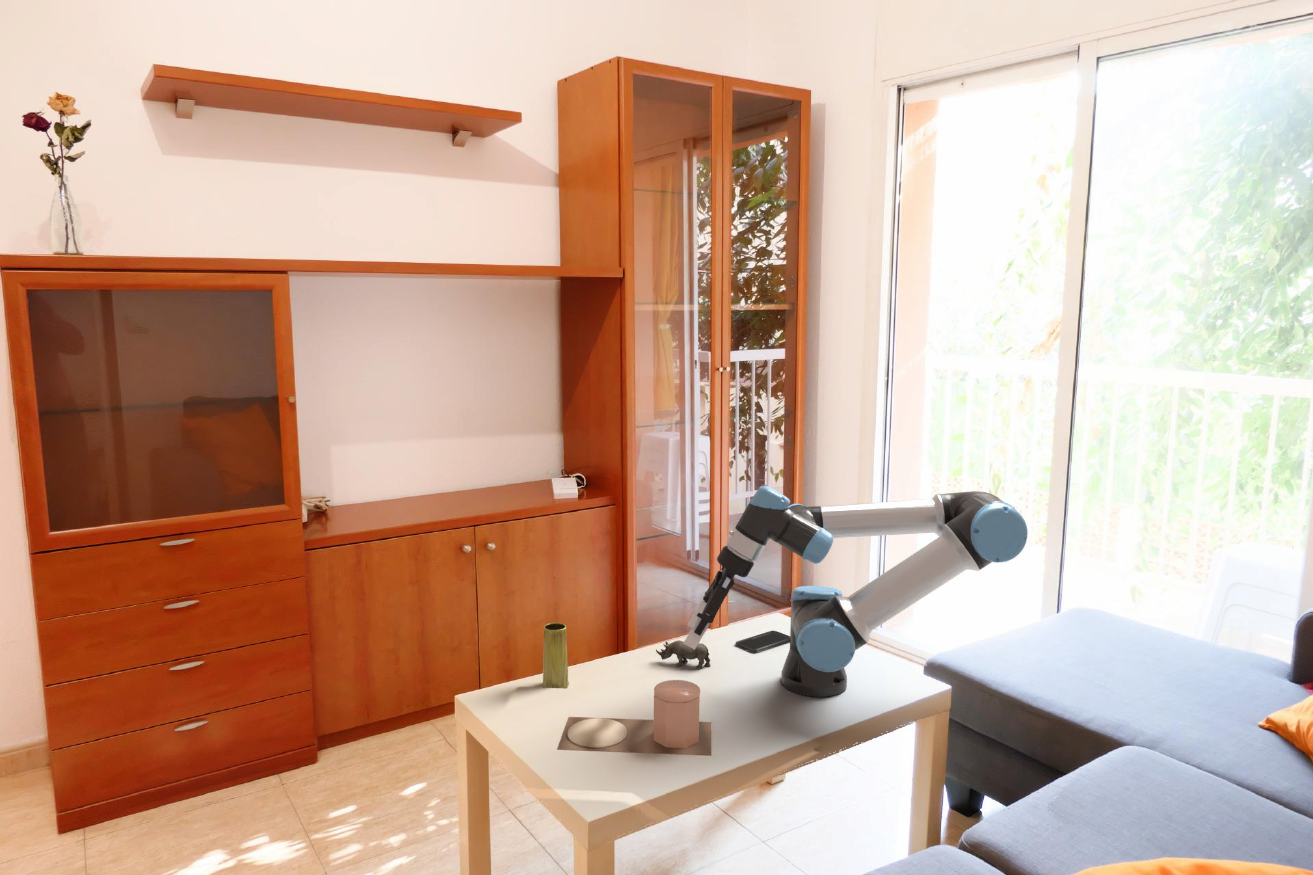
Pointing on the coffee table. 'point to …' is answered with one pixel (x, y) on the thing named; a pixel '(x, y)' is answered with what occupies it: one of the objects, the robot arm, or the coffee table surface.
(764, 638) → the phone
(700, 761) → the coffee table surface
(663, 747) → the board
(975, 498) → the robot arm
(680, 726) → the domed lid canister
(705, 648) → the rhino figurine
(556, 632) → the vase
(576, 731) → the coaster
